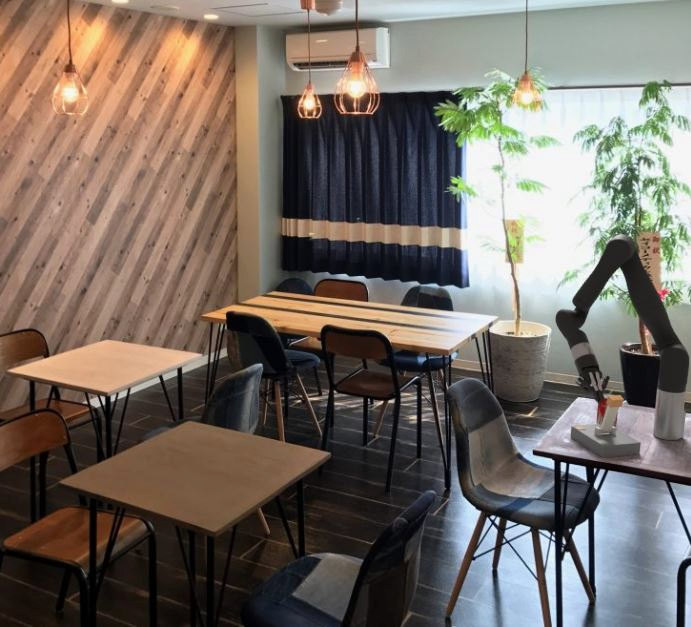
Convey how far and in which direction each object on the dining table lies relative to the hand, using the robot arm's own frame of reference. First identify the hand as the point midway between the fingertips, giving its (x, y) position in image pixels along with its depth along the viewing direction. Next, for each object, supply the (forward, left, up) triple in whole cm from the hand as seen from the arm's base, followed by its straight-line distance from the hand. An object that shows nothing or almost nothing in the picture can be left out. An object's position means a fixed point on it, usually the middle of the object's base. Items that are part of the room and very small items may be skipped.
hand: (601, 402), depth 275 cm
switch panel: (0, +3, -14) cm, 15 cm away
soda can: (-11, -13, -15) cm, 22 cm away
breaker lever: (0, +3, -9) cm, 10 cm away
